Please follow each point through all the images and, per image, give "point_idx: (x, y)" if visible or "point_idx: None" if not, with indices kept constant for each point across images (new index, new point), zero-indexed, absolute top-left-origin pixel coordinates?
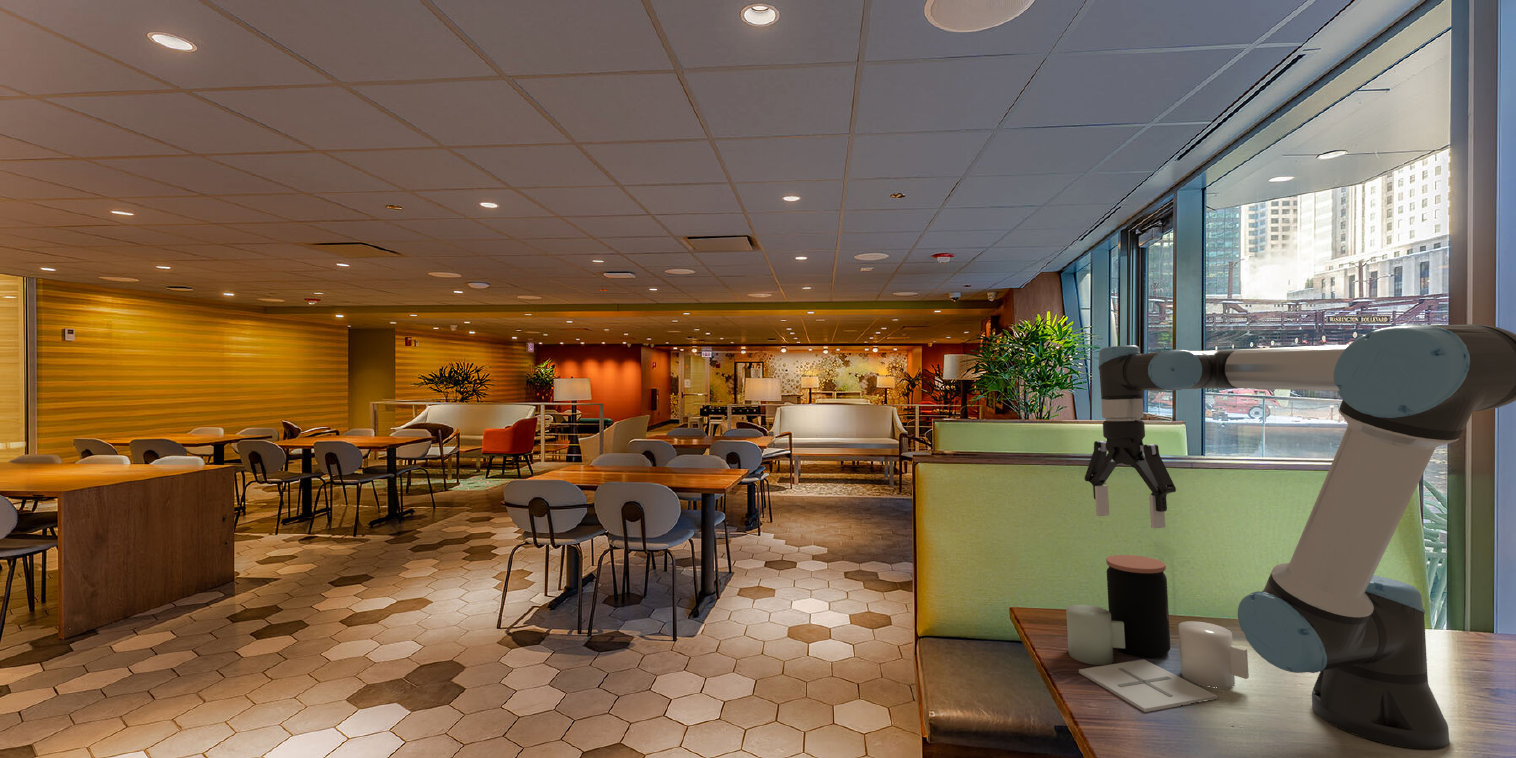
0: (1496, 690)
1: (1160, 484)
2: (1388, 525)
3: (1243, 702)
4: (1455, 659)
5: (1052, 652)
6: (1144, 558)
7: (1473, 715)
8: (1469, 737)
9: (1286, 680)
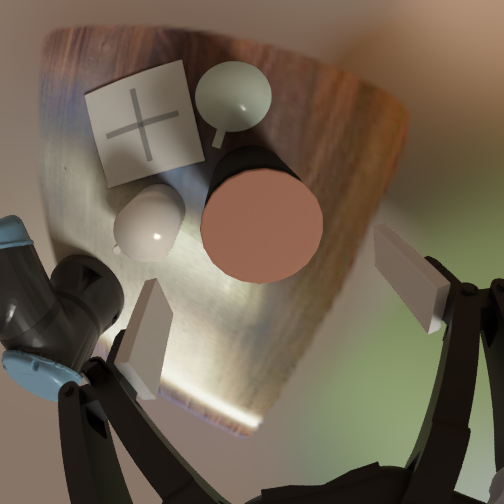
0: None
1: (68, 408)
2: None
3: (106, 209)
4: (206, 406)
5: (250, 55)
6: (282, 263)
7: None
8: None
9: None
